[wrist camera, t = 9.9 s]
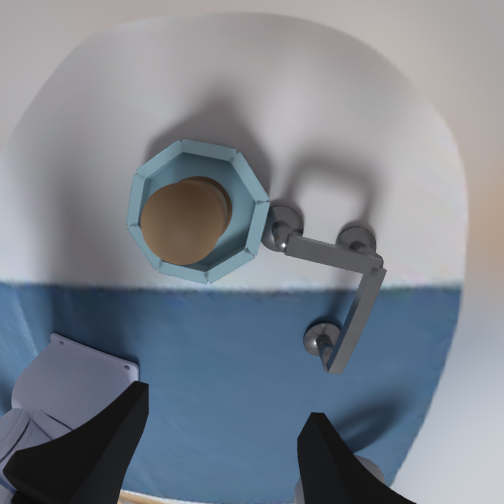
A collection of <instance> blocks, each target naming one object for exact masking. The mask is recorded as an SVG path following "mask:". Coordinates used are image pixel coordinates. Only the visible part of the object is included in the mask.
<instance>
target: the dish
mask: <svg viewBox="0 0 504 504" xmlns="http://www.w3.org/2000/svg"><path fill="white" fill-rule="evenodd" d="M237 152H238V150H237V149H234V148H229V147H225V146H220V145H215V144H210V143H205V142H200V141H194V140H189V139H182V140H179V139H178V140H177V141H176V142H174V143H173V144H171V145H170V146H168V147H167V148H166V149H164V150H163V151H161V152H160V153H159V154H157V155H156V156H155V157H153V158H152V159H150V160H149V161H148V162H146V163H145V164H144V165H142V166H141V167H140V168H139V169H137V170H136V171H137V173H138V174H134V177H133V182H132V188H131V194H130V200H129V207H128V214H127V221H126V225H130V226H129V227H128V228H127V229H128V231H129V232H130V234H131V235H132V237H133V239H134V240H135V242H136V243H137V245H138V246H139V248H140V249H141V251H142V252H143V254H144V255H145V257H146V258H147V260H148V261H149V262H150V264H151V265H152V267H153V268H154V270H156V269H158V273H162V274H166V275H170V276H174V277H178V278H182V279H186V280H190V281H194V282H198V283H203V284H207V282H209V283H210V284H211V283H213V282H215V281H216V280H218V279H220V278H222V277H223V276H225V275H227V274H228V273H230V272H232V271H234V270H235V269H237V268H239V267H241V266H242V265H244V264H246V263H247V262H249V261H251V260H253V259H254V258H255V255H257V253H258V249H259V245H260V241H261V237H262V233H263V229H264V225H265V221H266V217H267V214H268V210H269V206H270V202H269V201H268V200H269V197H268V195H267V193H266V192H265V190H264V189H263V187H262V185H261V184H260V182H259V180H258V179H257V177H256V176H255V174H254V172H253V171H252V169H251V168H250V166H249V164H248V163H247V161H246V160H245V158H244V156H243V155H242V153H241V152H238V153H237ZM192 176H204V177H208V178H211V179H213V180H215V181H217V182H218V183H219V184H221V185H222V186H223V187H224V188H225V190H226V191H227V193H228V195H229V197H230V199H231V203H232V217H231V221H230V224H229V226H228V228H227V229H226V231H225V232H224V234H223V235H222V236H221V237H220V238H219V239H218V241H217V243H216V245H215V247H214V248H213V250H212V251H211V252H210V253H209V254H208V255H207V256H206V257H205V258H203V259H202V260H200V261H198V262H195V263H192V264H187V265H176V264H172V263H169V262H166V261H164V260H162V259H160V258H159V257H157V256H156V255H155V254H154V253H153V252H152V251H151V250H150V248H149V247H148V246H147V244H146V242H145V240H144V238H143V235H142V231H141V214H142V210H143V208H144V205H145V203H146V202H147V200H148V199H149V197H150V196H151V195H152V194H153V193H154V192H155V191H157V190H158V189H160V188H162V187H164V186H166V185H169V184H174V183H177V182H179V181H181V180H182V179H185V178H188V177H192Z"/></svg>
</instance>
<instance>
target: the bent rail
mask: <svg viewBox="0 0 504 504" xmlns="http://www.w3.org/2000/svg"><path fill="white" fill-rule="evenodd" d="M302 235H303V222H302V220H301V218H300V216H299V215H298V214H297V213H296V212H295V211H294V210H293V209H291V208H289V207H286V206H275V207H272V208H270V209H269V210H268V214H267V217H266V221H265V225H264V229H263V233H262V237H261V242H262V243H263V245H264V246H266V247H267V248H268V249H270V250H273V251H277V252H284V253H285V255H287V256H292V257H296V258H300V259H304V260H309V261H313V262H317V263H321V264H325V265H330V266H334V267H338V268H342V269H346V270H351V271H355V272H359V273H363V276H362V279H361V282H360V284H359V287H358V290H357V292H356V295H355V298H354V300H353V303H352V306H351V308H350V311H349V313H348V316H347V318H346V320H345V323H344V325H343V328H342V330H341V332H340V330H339V328H338V327H337V325H335V324H334V323H331V322H327V321H323V322H318V323H316V324H314V325H312V326H311V327H309V328H308V329H307V331H306V332H305V334H304V337H303V343H304V346H305V349H306V350H307V351H308V352H309V353H310V354H312V355H315V356H320V358H321V361H322V364H323V367H324V370H325V371H326V372H327V373H334V374H342V373H343V371H344V369H345V367H346V365H347V363H348V361H349V359H350V357H351V355H352V352H353V350H354V348H355V346H356V344H357V342H358V340H359V337H360V335H361V333H362V331H363V328H364V326H365V324H366V322H367V319H368V317H369V315H370V312H371V310H372V307H373V305H374V302H375V300H376V297H377V295H378V292H379V290H380V287H381V285H382V282H383V279H384V277H385V274H386V271H387V270H386V269H384V268H383V259H382V257H381V256H380V255H378V254H377V253H376V241H375V238H374V236H373V235H372V234H371V233H370V232H369V231H368V230H366V229H365V228H362V227H357V226H355V227H350V228H348V229H346V230H344V231H343V232H342V233H341V234H340V235H339V237H338V239H337V241H336V244H335V245H333V244H329V243H325V242H321V241H317V240H313V239H309V238H305V237H302Z"/></svg>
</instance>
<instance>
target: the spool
mask: <svg viewBox="0 0 504 504" xmlns="http://www.w3.org/2000/svg"><path fill="white" fill-rule="evenodd" d="M231 217H232V203H231V199H230V197H229V195H228V193H227V191H226V190H225V188H224V187H223V186H222V185H221V184H219V183H218V182H217V181H215V180H213V179H211V178H208V177H204V176H192V177H188V178H185V179H182V180H181V181H179V182H177V183H174V184H169V185H166V186H164V187H162V188H160V189H158V190H157V191H155V192H154V193H153V194H152V195H151V196H150V197H149V199H148V200H147V202H146V203H145V205H144V208H143V210H142V214H141V231H142V235H143V238H144V240H145V242H146V244H147V246H148V247H149V248H150V250H151V251H152V252H153V253H154V254H155V255H156V256H157V257H159V258H160V259H162V260H164V261H166V262H169V263H172V264H176V265H187V264H192V263H195V262H198V261H200V260H202V259H203V258H205V257H206V256H207V255H208V254H209V253H210V252H211V251H212V250H213V248H214V247H215V245H216V243H217V241H218V239H219V238H220V237H221V236H222V235H223V234H224V232H225V231H226V229H227V228H228V226H229V224H230V221H231Z"/></svg>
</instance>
